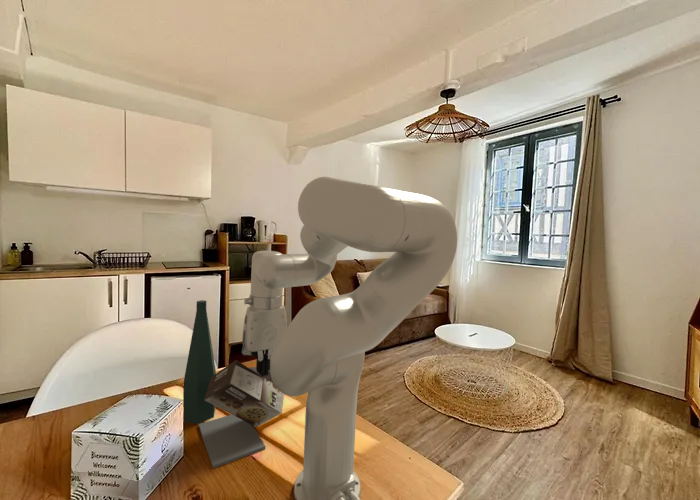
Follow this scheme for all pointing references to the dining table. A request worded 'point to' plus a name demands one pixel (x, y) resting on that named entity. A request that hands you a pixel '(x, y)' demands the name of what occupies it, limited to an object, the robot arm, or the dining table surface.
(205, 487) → the dining table surface
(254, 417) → the coffee box
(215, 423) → the mat
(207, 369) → the bottle
